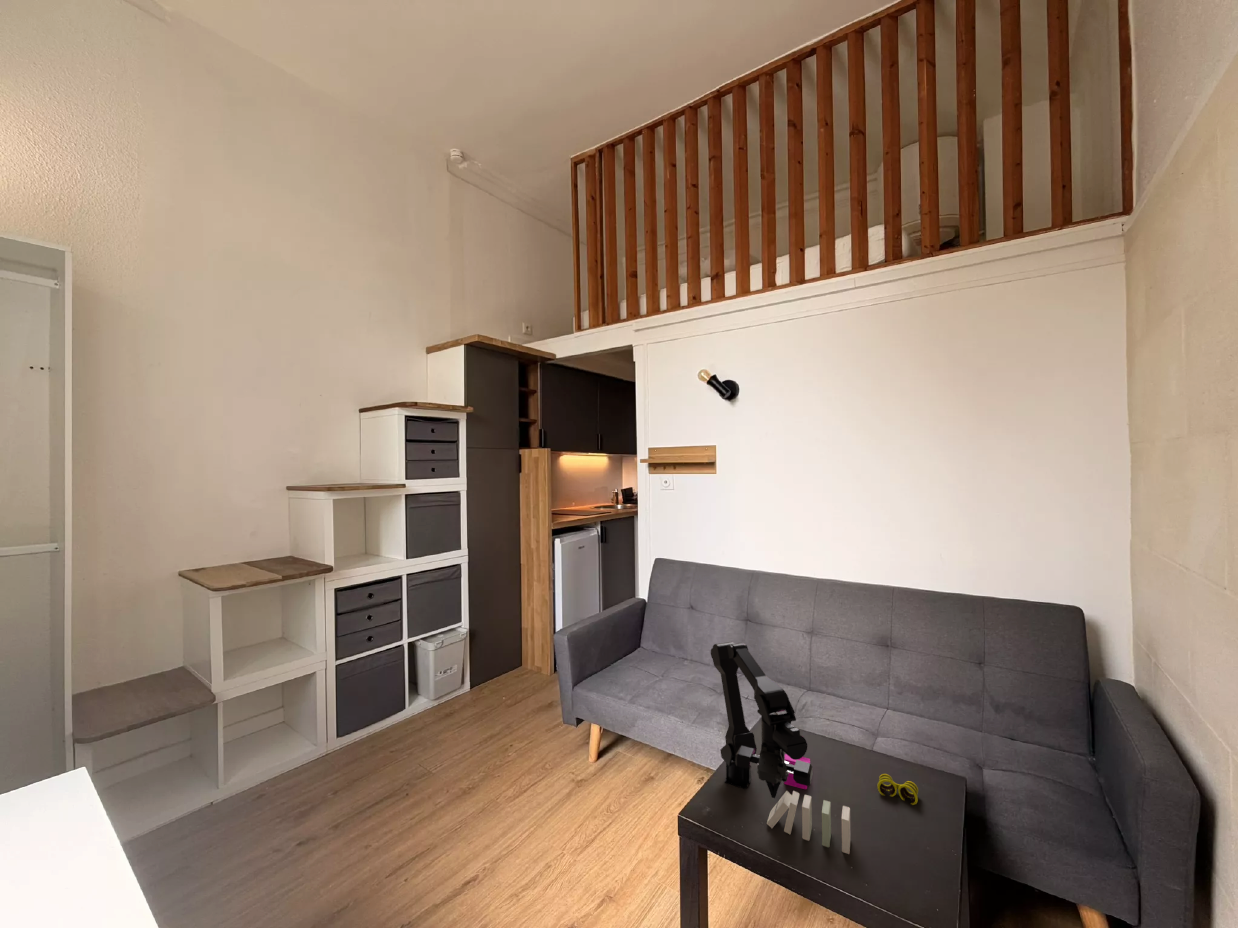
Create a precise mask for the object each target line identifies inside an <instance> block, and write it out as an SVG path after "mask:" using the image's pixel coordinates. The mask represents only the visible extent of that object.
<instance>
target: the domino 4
mask: <svg viewBox="0 0 1238 928" xmlns="http://www.w3.org/2000/svg"><path fill="white" fill-rule="evenodd" d="M850 849H851V808H850V807H849V806H846V805H842V811H841V852H842V853H844V854H848V855H850V852H851V851H850Z"/></svg>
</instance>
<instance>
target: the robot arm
mask: <svg viewBox="0 0 1238 928" xmlns="http://www.w3.org/2000/svg"><path fill="white" fill-rule="evenodd" d="M710 656H711V659H712V663H713V665H714V668H716V670H717V671H718V673H719V674H720V678H721V684H722V690H723V695H724V696H723V697H724V704H725V709H726V717H727V724H728V727H727V731H726V733H725V736H724V738H725V744H724V745H723V746H722V748H721V749H720V756H721V759H722V760H723V761H724V762H725V778H724V783H725V784H728V785H731V786H734V787H738V788H740V789H744V790H745V789H747V788H748V785H750V783H751V782H752V765H751V764H756V765H757V768H756V769H757V771H756V772H757V776H758V780H760V781H765V783H766V786H767V788H768V790H769V793H770V796H771V798H772V799H776V798H777V794H778V790H779V787H780V785H781V784H782V782H783V783H784V782H786V781H787V778H788V775H789V773H791V774H793V779H794V780H795V782H796V783H799V784H802V785H806V786H807V787H809V786H811V783H812V778H813V773H814V771H813V770H814V769H813V766H812V764H811V762H810V763H807V762H803V761H799V760H798V759H800V758H802V757H804V756H805V755H806V753H807V751H808V742H807V740H806V738H805V737H804V736H803V735H801V731H800V729H799V728H798V727H796V726H794V725H792V722H796V721H797V718H796V715H795V714H796V712H795V710H794V707H793V706H792V703H791V700H790V698H789V695H788V693H787V692H786V690H784V688H782V686H781V685H780V684H779V683H778V682H776V681H775V680H773V679H771V678H770V677H768V675H766V673H765V672H764V671H763V669H762V667H760V665H759V663H758V662H757V661H756V659H755V658H754V657H753V655H752V654H751V652H750V651H749V648H748V646H747V644H746V643H743V642H738V643H735V642H733V641H729V642H721V643H720V642H719V643H713V646H712V648H711V649H710ZM739 669H740V671H741V673H742V674H743V675H744V677H745V678H746V680H747V682H748V683H749V685H750V686H751V687H752V689H753V691H754V692H753V699H754V701H755V703H756V705H757V708H758V709H757V710H756V711H757V714H759V715H760V716H761V718H760V719H761V720H760V722H761V724H760V725H761V744H760V745H761V748H760V749H761V750H760V752H759V755H758V754H757V743H756V741H755V733H753V732H752V731H750V730H749V728H748V727H747V725H746V720H745V716H744V715H745V714H744V707H743V701H742V697H741V696H742V695H741V691H740V685H739V679H738V678H739V677H738V673H737V672H738V670H739ZM780 712H786V713H781V714H779V713H780ZM785 754H787V755H788V756H789V757H790V758H792V759H794V760H796V763H795V765H791V764H789V762H786V761H785Z"/></svg>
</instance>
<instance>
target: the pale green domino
mask: <svg viewBox="0 0 1238 928" xmlns="http://www.w3.org/2000/svg"><path fill="white" fill-rule="evenodd" d="M821 809H822V810H821V845H822V846H823V847H826V848H830V844H831V838H832V837H831V836H832V816H831V815H832V814H831V811H832V810H831V809H832V807H831V801H828V800H825V799H823V803H822V808H821Z"/></svg>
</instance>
